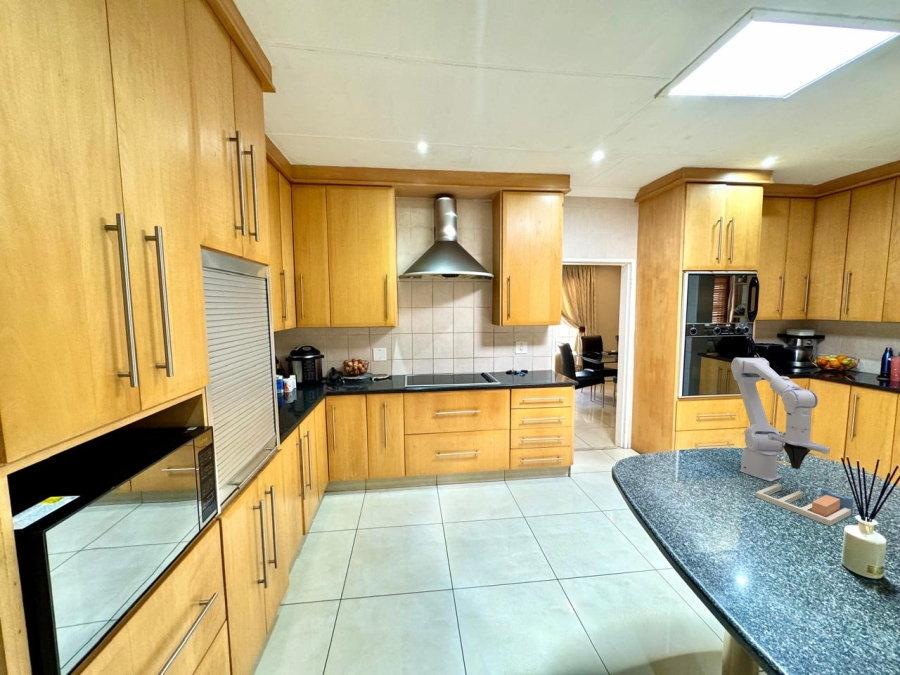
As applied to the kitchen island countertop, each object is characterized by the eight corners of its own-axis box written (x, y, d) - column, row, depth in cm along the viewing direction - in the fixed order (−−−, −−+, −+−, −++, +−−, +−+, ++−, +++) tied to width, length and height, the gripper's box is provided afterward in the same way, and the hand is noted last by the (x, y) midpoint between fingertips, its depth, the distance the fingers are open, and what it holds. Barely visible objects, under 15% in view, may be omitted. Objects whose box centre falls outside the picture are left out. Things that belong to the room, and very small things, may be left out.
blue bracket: (820, 504, 109) (821, 489, 109) (822, 502, 110) (823, 488, 110) (849, 514, 103) (850, 499, 103) (852, 513, 104) (853, 497, 104)
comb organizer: (755, 496, 114) (755, 492, 114) (776, 488, 119) (776, 483, 119) (830, 526, 98) (830, 520, 98) (850, 514, 103) (851, 509, 103)
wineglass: (798, 466, 135) (800, 436, 134) (781, 465, 136) (782, 435, 135) (787, 460, 141) (788, 431, 140) (770, 459, 142) (772, 430, 141)
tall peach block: (811, 516, 103) (812, 501, 103) (825, 508, 107) (826, 494, 107) (825, 521, 100) (826, 506, 100) (839, 513, 104) (840, 499, 104)
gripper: (763, 422, 118) (761, 461, 119) (823, 435, 104) (820, 479, 105) (774, 419, 121) (773, 457, 121) (834, 432, 107) (831, 475, 108)
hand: (795, 467), depth 114 cm, fingers closed
